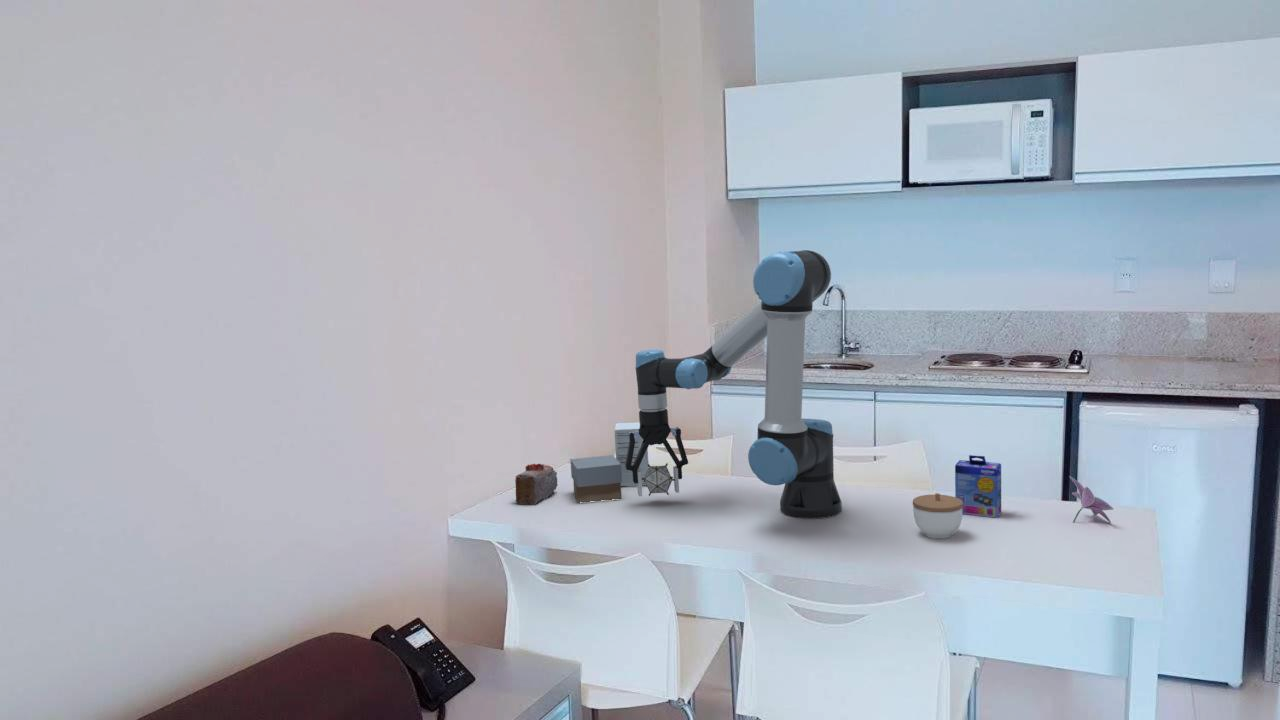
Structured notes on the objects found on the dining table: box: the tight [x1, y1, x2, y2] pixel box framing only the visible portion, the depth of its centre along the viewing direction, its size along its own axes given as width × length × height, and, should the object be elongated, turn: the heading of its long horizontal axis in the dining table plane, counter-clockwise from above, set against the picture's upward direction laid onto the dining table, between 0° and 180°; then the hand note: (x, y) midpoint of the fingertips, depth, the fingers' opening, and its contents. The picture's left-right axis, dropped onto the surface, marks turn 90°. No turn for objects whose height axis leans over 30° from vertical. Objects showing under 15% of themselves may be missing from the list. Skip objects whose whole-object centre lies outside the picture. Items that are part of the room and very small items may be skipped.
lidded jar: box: [912, 492, 963, 539], centre depth 204 cm, size 11×11×9 cm
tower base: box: [572, 479, 622, 504], centre depth 250 cm, size 12×12×5 cm
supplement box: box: [614, 421, 650, 487], centre depth 262 cm, size 10×9×17 cm
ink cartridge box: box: [954, 454, 1003, 519], centre depth 218 cm, size 10×6×14 cm, turn 59°
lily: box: [1068, 475, 1114, 524], centre depth 209 cm, size 12×12×10 cm
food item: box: [514, 463, 559, 506], centre depth 251 cm, size 14×8×10 cm, turn 162°
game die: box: [642, 462, 674, 497], centre depth 240 cm, size 9×8×10 cm
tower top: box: [569, 454, 622, 487], centre depth 250 cm, size 12×12×5 cm
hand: (658, 493), depth 240 cm, fingers closed on game die, 9 cm apart
